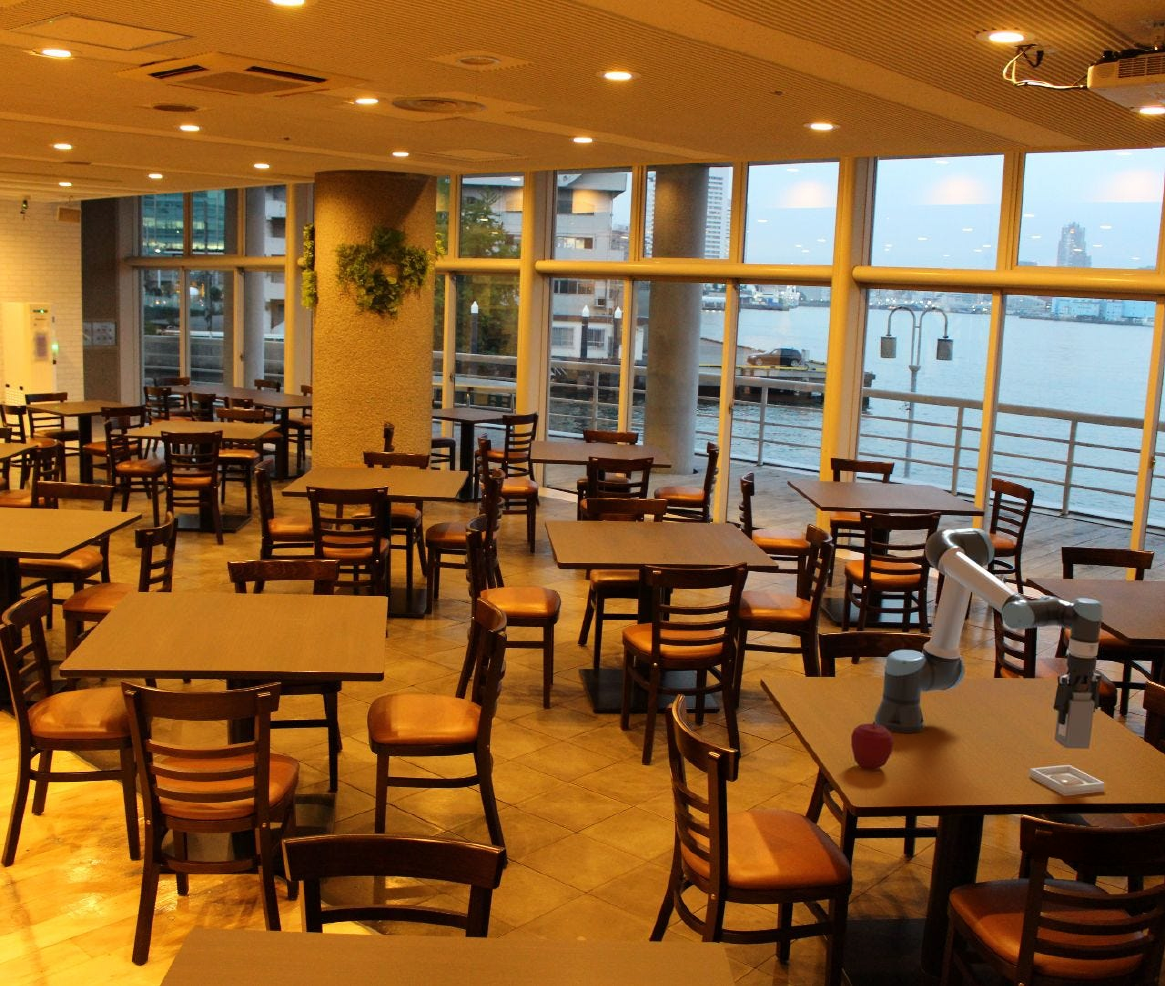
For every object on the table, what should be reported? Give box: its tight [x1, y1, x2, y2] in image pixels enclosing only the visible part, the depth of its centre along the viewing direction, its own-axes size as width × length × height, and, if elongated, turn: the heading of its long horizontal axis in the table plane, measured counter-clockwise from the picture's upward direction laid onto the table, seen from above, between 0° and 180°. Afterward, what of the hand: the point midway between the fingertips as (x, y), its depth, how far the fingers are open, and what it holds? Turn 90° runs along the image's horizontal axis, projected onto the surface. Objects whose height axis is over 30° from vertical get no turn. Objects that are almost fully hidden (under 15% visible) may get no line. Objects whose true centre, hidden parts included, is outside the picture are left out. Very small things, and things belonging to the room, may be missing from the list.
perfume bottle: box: [1054, 683, 1095, 750], centre depth 346 cm, size 7×7×18 cm
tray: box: [1029, 764, 1106, 796], centre depth 349 cm, size 14×14×2 cm
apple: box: [850, 722, 894, 771], centre depth 351 cm, size 12×12×13 cm
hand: (1072, 734), depth 347 cm, fingers closed on perfume bottle, 6 cm apart
